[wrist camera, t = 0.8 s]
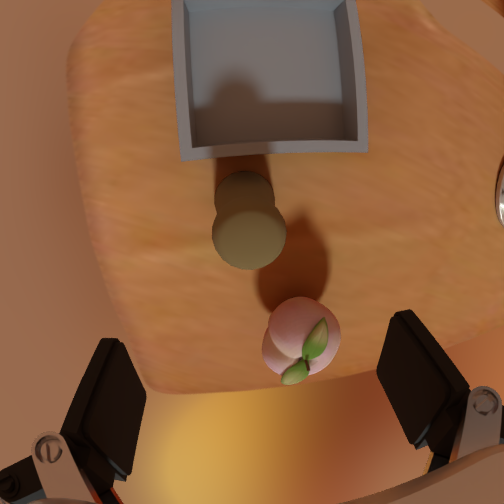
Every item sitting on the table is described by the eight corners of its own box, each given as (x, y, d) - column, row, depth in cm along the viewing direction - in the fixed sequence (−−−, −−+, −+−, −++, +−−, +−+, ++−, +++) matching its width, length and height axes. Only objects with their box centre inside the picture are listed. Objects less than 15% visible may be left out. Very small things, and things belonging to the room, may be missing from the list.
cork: (201, 198, 28) (184, 239, 18) (247, 158, 27) (256, 176, 17) (241, 240, 31) (245, 298, 21) (286, 203, 29) (314, 246, 19)
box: (338, 7, 20) (354, -8, 16) (349, 148, 27) (368, 152, 23) (180, 9, 20) (171, -8, 16) (189, 156, 27) (181, 161, 23)
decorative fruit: (313, 342, 37) (332, 399, 28) (253, 336, 36) (259, 398, 27) (337, 282, 33) (368, 336, 24) (270, 273, 32) (284, 330, 23)
